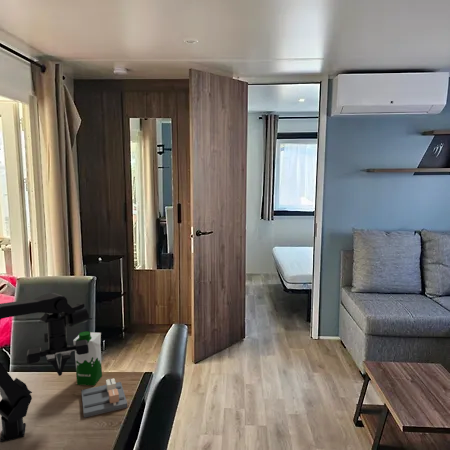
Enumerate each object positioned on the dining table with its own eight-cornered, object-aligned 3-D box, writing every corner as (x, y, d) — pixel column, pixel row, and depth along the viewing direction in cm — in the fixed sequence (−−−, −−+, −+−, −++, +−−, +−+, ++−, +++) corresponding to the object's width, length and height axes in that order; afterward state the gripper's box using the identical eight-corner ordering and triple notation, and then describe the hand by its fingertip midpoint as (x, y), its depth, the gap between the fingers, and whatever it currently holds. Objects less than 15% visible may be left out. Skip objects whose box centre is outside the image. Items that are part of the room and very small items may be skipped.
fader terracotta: (119, 401, 133) (118, 394, 132) (110, 403, 132) (109, 396, 131) (117, 395, 136) (117, 388, 136) (108, 397, 135) (108, 390, 135)
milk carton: (73, 386, 146) (70, 335, 143) (84, 373, 155) (81, 326, 152) (95, 387, 145) (93, 336, 142) (105, 374, 154) (103, 326, 151)
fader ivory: (116, 390, 140) (115, 383, 139) (107, 392, 138) (107, 385, 138) (114, 384, 143) (114, 377, 143) (106, 386, 142) (105, 379, 142)
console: (127, 407, 133) (127, 402, 132) (84, 417, 127) (83, 412, 127) (121, 385, 146) (120, 381, 146) (81, 393, 141) (81, 389, 141)
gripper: (85, 318, 140) (87, 359, 142) (27, 326, 132) (30, 369, 135) (87, 329, 129) (90, 373, 132) (24, 339, 122) (28, 385, 124)
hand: (60, 375), depth 131 cm, fingers closed
